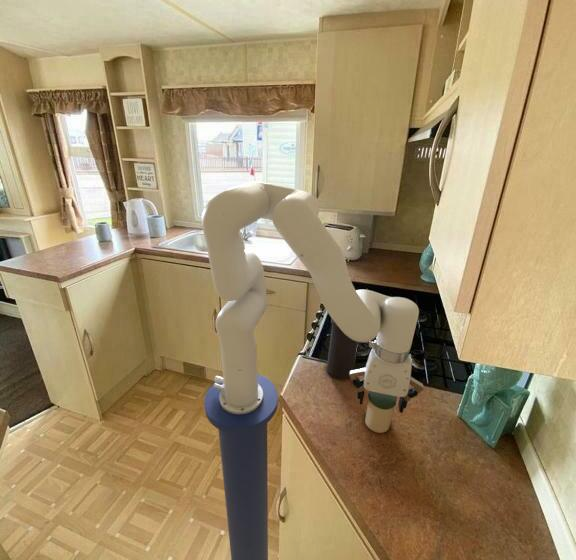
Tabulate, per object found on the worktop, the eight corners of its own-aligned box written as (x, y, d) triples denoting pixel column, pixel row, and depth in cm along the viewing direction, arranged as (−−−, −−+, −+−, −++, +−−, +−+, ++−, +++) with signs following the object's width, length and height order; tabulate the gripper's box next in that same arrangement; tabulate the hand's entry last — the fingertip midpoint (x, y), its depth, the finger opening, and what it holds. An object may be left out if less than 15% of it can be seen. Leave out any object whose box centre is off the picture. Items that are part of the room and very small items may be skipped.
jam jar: (363, 428, 80) (368, 401, 76) (366, 410, 85) (371, 384, 81) (388, 436, 78) (394, 409, 74) (390, 416, 83) (396, 390, 79)
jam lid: (399, 410, 75) (400, 406, 74) (370, 408, 75) (371, 403, 75) (392, 389, 81) (393, 385, 80) (366, 387, 81) (367, 383, 81)
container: (359, 378, 96) (367, 323, 88) (331, 382, 94) (337, 326, 86) (347, 360, 104) (354, 307, 95) (322, 363, 102) (326, 310, 93)
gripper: (352, 353, 70) (344, 408, 77) (435, 367, 67) (418, 424, 74) (354, 334, 77) (346, 387, 84) (429, 346, 73) (414, 400, 80)
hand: (380, 404), depth 79 cm, fingers open, 9 cm apart
